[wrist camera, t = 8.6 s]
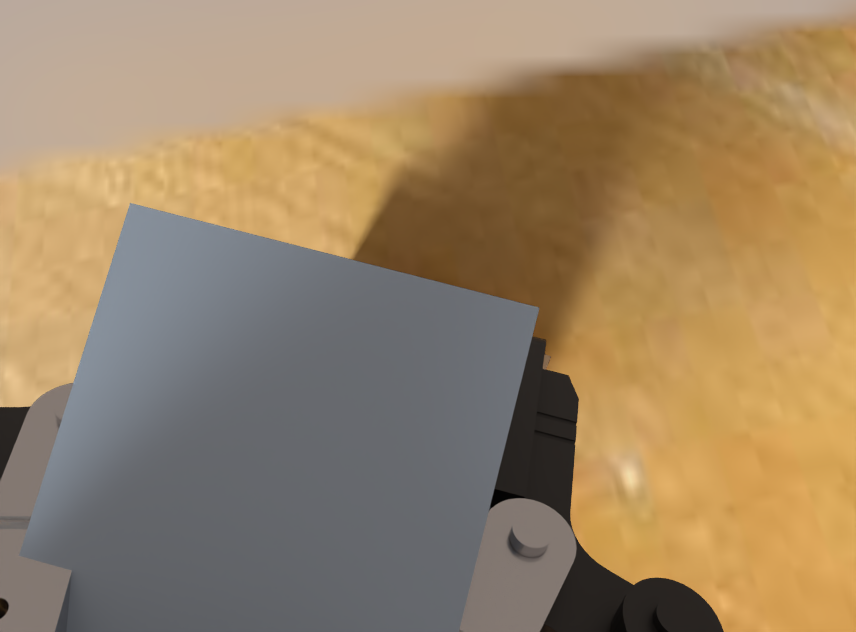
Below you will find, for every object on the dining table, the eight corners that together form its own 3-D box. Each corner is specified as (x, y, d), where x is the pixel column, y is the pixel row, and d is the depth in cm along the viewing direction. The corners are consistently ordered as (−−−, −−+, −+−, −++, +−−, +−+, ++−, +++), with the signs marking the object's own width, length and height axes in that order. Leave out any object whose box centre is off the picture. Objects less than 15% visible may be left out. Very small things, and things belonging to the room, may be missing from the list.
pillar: (251, 506, 18) (-3, 624, 8) (305, 317, 18) (130, 203, 8) (441, 559, 17) (429, 751, 8) (491, 365, 18) (538, 307, 8)
